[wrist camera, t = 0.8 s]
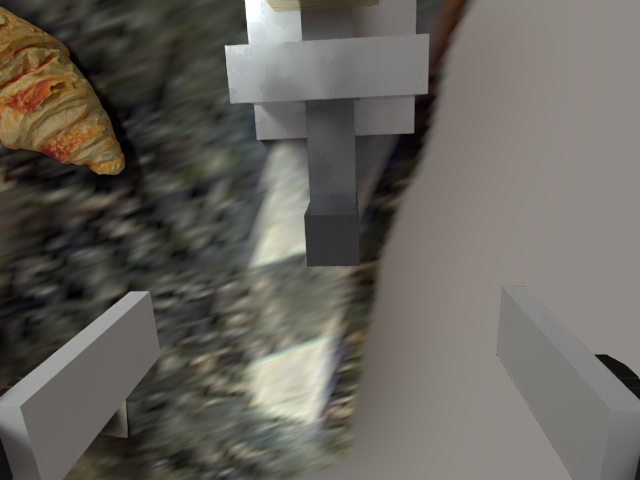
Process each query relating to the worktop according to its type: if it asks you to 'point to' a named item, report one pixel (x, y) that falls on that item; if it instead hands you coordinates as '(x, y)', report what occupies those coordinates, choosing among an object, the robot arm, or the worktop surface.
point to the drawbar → (331, 158)
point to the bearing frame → (330, 69)
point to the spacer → (317, 4)
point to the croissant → (51, 101)
